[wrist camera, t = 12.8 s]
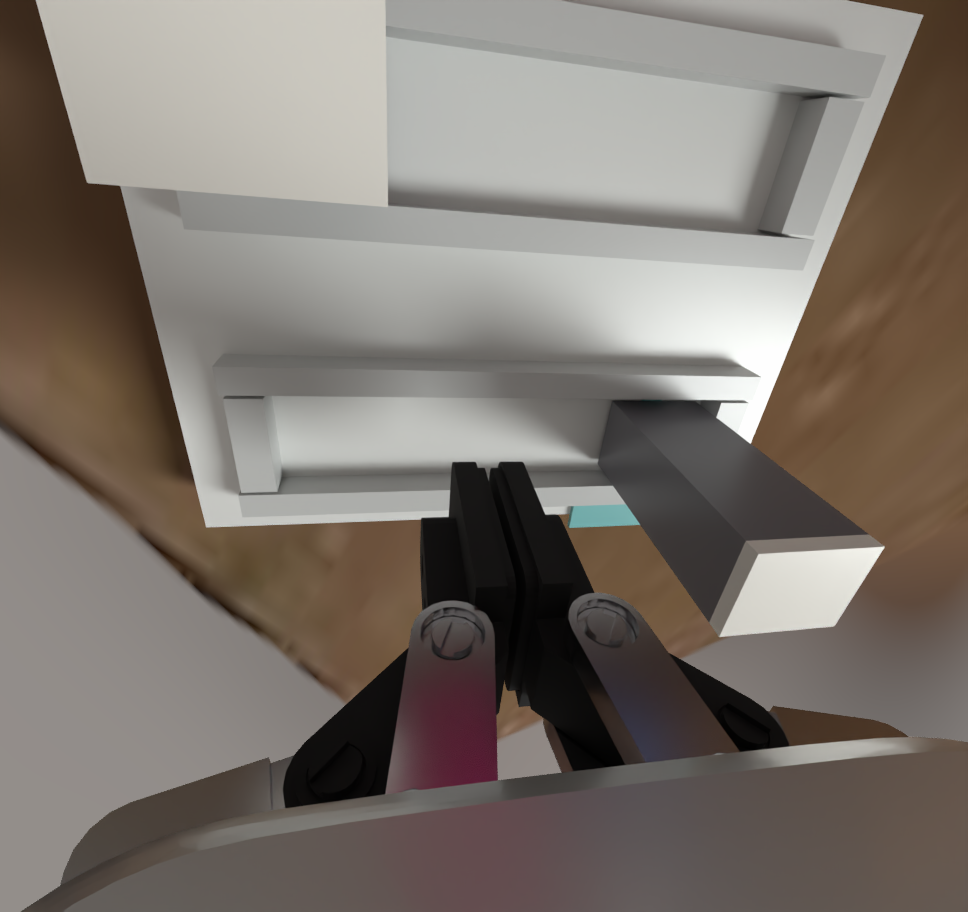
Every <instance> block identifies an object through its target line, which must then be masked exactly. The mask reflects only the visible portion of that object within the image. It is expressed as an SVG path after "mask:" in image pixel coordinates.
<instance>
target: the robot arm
mask: <svg viewBox="0 0 968 912" xmlns="http://www.w3.org/2000/svg"><path fill="white" fill-rule="evenodd" d="M420 567H421V591H422V610H423V611H422V612H421V613H420V614H419V615H418V617H417V618H416V619H415V621H414V624H413V627H412V629H411V636H410V642H409V648H408V649H406V650H405V651H404V652H403V653H402V654H401V655H400V656H399V657H398V658H397V659H396V660H394V661H393V662H392V663H391V664H390V665H389V666H388V667H387V668H386V669H385V670H384V671H382V672H381V673H380V674H379V675H378V676H377V677H376V678H375V679H374V680H373V681H372V682H370V683H369V684H368V685H367V686H366V687H365V688H364V689H363V690H362V691H361V692H360V693H358V694H357V695H356V696H355V697H354V698H353V699H352V700H351V701H350V702H349V703H347V704H346V705H345V706H344V707H343V708H342V709H341V710H340V711H339V712H338V713H337V714H336V715H334V716H333V717H332V718H331V719H330V720H329V721H328V722H327V723H326V724H325V725H324V726H323V727H322V728H320V729H319V730H318V731H317V732H316V733H315V734H314V735H313V736H311V737H310V738H309V739H308V740H307V741H306V742H305V743H304V744H303V745H302V747H301V748H300V749H299V750H298V751H297V752H296V754H295V755H294V756H291V757H289V758H285V759H283V760H279V761H276V762H273V763H270V759H269V758H265V759H262V760H259V761H256V762H253V763H250V764H247V765H244V766H241V767H238V768H235V769H232V770H229V771H225V772H222V773H219V774H216V775H213V776H210V777H207V778H204V779H201V780H198V781H195V782H192V783H189V784H185V785H183V786H179V787H176V788H173V789H170V790H167V791H164V792H161V793H158V794H155V795H152V796H149V797H146V798H143V799H140V800H136V801H133V802H130V803H128V804H126V805H124V806H122V807H120V808H118V809H116V810H114V811H112V812H110V813H109V814H107V815H106V816H105V817H104V818H103V819H101V820H100V821H99V822H98V823H97V824H95V825H94V826H93V827H92V828H90V829H89V831H88V832H87V833H86V834H85V836H84V837H83V838H82V839H81V841H80V842H79V843H78V845H77V846H76V847H75V849H74V850H73V852H72V854H71V856H70V859H69V861H68V863H67V866H66V868H65V870H64V873H63V877H62V881H61V885H60V886H59V887H57V888H56V889H54V890H53V891H52V892H50V893H48V894H47V895H45V896H44V897H42V898H41V899H39V900H37V901H36V902H34V903H33V904H31V905H30V906H28V907H27V908H25V909H24V910H22V911H21V912H968V742H964V741H957V740H951V739H942V738H926V737H908V736H907V735H906V734H904V733H903V732H901V731H899V730H897V729H895V728H894V727H892V726H890V725H888V724H885V723H882V722H879V721H875V720H871V719H863V718H856V717H848V716H841V715H834V714H827V713H820V712H813V711H805V710H798V709H790V708H784V707H776V706H773V707H772V709H771V710H770V712H768V711H766V710H765V709H764V708H763V707H762V706H760V705H759V704H757V703H756V702H755V701H753V700H752V699H750V698H748V697H747V696H745V695H743V694H741V693H739V692H737V691H736V690H734V689H732V688H730V687H728V686H727V685H725V684H723V683H722V682H720V681H718V680H716V679H714V678H713V677H711V676H709V675H707V674H706V673H704V672H702V671H700V670H698V669H696V668H695V667H693V666H691V665H689V664H688V663H686V662H684V661H682V660H681V659H679V658H677V657H675V656H673V655H672V654H670V653H668V651H667V650H666V649H665V647H664V646H663V644H662V643H661V642H660V640H659V639H658V638H657V636H656V635H655V633H654V632H653V631H652V629H651V628H650V626H649V625H648V624H647V622H646V621H645V620H644V618H643V617H642V615H641V614H640V613H639V612H638V611H637V610H636V609H635V608H634V607H633V606H632V605H630V604H629V603H627V602H626V601H624V600H623V599H620V598H618V597H616V596H613V595H609V594H604V593H594V591H593V588H592V586H591V584H590V582H589V580H588V577H587V575H586V573H585V571H584V569H583V566H582V564H581V562H580V560H579V558H578V555H577V553H576V551H575V549H574V547H573V544H572V542H571V540H570V538H569V536H568V533H567V531H566V529H565V527H564V525H563V522H562V520H561V519H560V517H559V516H558V515H556V514H549V515H545V513H544V510H543V508H542V506H541V503H540V501H539V498H538V496H537V494H536V491H535V489H534V486H533V484H532V481H531V479H530V477H529V474H528V472H527V469H526V467H525V465H524V463H523V462H499V464H498V468H491V469H490V474H489V480H488V477H487V473H486V470H485V468H478V467H477V464H476V462H452V468H451V484H450V501H449V517H427V518H421V540H420ZM504 680H505V685H506V688H507V690H508V691H513V690H515V691H516V696H517V701H518V705H519V707H523V706H530V707H531V709H532V710H533V711H535V712H536V713H537V714H539V715H540V716H542V717H543V725H544V729H545V733H546V736H547V738H548V741H549V743H550V745H551V748H552V750H553V753H554V755H555V758H556V760H557V763H558V765H559V767H560V770H561V772H562V773H556V774H547V775H539V776H531V777H522V778H515V779H507V780H498V774H497V773H498V772H497V725H496V715H497V714H498V713H499V709H500V703H501V697H502V691H503V684H504Z"/></svg>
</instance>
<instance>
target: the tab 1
mask: <svg viewBox="0 0 968 912" xmlns="http://www.w3.org/2000/svg"><path fill="white" fill-rule="evenodd" d="M36 3H37V6H38V10H39V14H40V17H41V21H42V24H43V28H44V31H45V35H46V38H47V42H48V46H49V49H50V53H51V56H52V60H53V63H54V67H55V71H56V74H57V78H58V81H59V85H60V88H61V92H62V95H63V99H64V103H65V106H66V110H67V113H68V117H69V120H70V124H71V127H72V131H73V135H74V138H75V142H76V145H77V149H78V152H79V156H80V159H81V163H82V167H83V170H84V174H85V177H86V181H87V183H93V184H105V185H118V186H130V187H142V188H155V189H167V190H180V191H192V192H205V193H217V194H230V195H242V196H255V197H267V198H280V199H292V200H305V201H317V202H330V203H342V204H354V205H367V206H379V207H388V160H387V84H386V8H385V0H36Z"/></svg>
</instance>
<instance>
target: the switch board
mask: <svg viewBox="0 0 968 912" xmlns="http://www.w3.org/2000/svg"><path fill="white" fill-rule="evenodd" d="M385 8H386V84H387V160H388V207H379V206H367V205H354V204H342V203H330V202H317V201H305V200H292V199H280V198H267V197H255V196H242V195H230V194H217V193H205V192H192V191H180V190H167V189H155V188H142V187H130V186H120V187H121V191H122V195H123V199H124V203H125V207H126V211H127V215H128V219H129V223H130V227H131V230H132V234H133V238H134V242H135V246H136V250H137V254H138V258H139V262H140V266H141V270H142V274H143V278H144V282H145V286H146V290H147V294H148V298H149V302H150V306H151V310H152V314H153V318H154V322H155V326H156V330H157V334H158V338H159V342H160V345H161V349H162V353H163V357H164V361H165V365H166V369H167V373H168V377H169V381H170V385H171V389H172V393H173V397H174V401H175V405H176V409H177V413H178V417H179V421H180V425H181V429H182V433H183V437H184V441H185V445H186V449H187V453H188V457H189V461H190V464H191V468H192V472H193V476H194V480H195V484H196V488H197V492H198V496H199V500H200V504H201V508H202V512H203V516H204V520H205V524H206V527H229V526H256V525H283V524H310V523H337V522H364V521H391V520H418V519H421V518H427V517H449V501H450V484H451V468H452V462H476V464H477V467H478V468H485V470H486V473H487V477H488V480H489V474H490V469H491V468H498V464H499V462H523V463H524V465H525V467H526V469H527V472H528V474H529V477H530V479H531V481H532V484H533V486H534V489H535V491H536V494H537V496H538V498H539V501H540V503H541V506H542V508H543V510H544V513H545V515H549V514H570V515H569V520H568V526H569V528H576V527H599V526H622V525H640V524H639V522H638V521H637V519H636V518H635V516H634V515H633V514H632V512H631V511H630V509H629V508H628V506H627V505H626V504H625V502H624V501H623V499H622V498H621V497H620V495H619V494H618V492H617V491H616V489H615V488H614V487H613V485H612V484H611V482H610V481H609V479H608V478H607V477H606V475H605V474H604V472H603V471H602V470H601V468H600V467H599V465H598V459H599V455H600V451H601V446H602V442H603V438H604V433H605V429H606V425H607V421H608V416H609V412H610V408H611V403H612V401H696V402H697V403H698V404H699V405H701V406H702V407H703V408H705V409H706V410H707V411H709V412H710V413H711V414H712V415H714V416H715V417H716V418H718V419H719V420H720V421H722V422H723V423H724V424H725V425H727V426H728V427H729V428H731V429H732V430H733V431H735V432H736V433H737V434H739V435H740V436H741V437H742V438H744V439H745V440H746V441H748V442H749V443H750V444H751V441H752V439H753V436H754V434H755V431H756V429H757V426H758V424H759V421H760V419H761V416H762V414H763V411H764V409H765V406H766V404H767V402H768V399H769V397H770V394H771V392H772V389H773V387H774V384H775V382H776V379H777V377H778V374H779V372H780V369H781V367H782V364H783V362H784V359H785V357H786V354H787V352H788V350H789V347H790V345H791V342H792V340H793V337H794V335H795V332H796V330H797V327H798V325H799V322H800V320H801V317H802V315H803V312H804V310H805V307H806V305H807V302H808V300H809V298H810V295H811V293H812V290H813V288H814V285H815V283H816V280H817V278H818V275H819V273H820V270H821V268H822V265H823V263H824V260H825V258H826V255H827V253H828V251H829V248H830V246H831V243H832V241H833V238H834V236H835V233H836V231H837V228H838V226H839V223H840V221H841V218H842V216H843V213H844V211H845V208H846V206H847V203H848V201H849V199H850V196H851V194H852V191H853V189H854V186H855V184H856V181H857V179H858V176H859V174H860V171H861V169H862V166H863V164H864V161H865V159H866V156H867V154H868V151H869V149H870V147H871V144H872V142H873V139H874V137H875V134H876V132H877V129H878V127H879V124H880V122H881V119H882V117H883V114H884V112H885V109H886V107H887V104H888V102H889V99H890V97H891V95H892V92H893V90H894V87H895V85H896V82H897V80H898V77H899V75H900V72H901V70H902V67H903V65H904V62H905V60H906V57H907V55H908V52H909V50H910V47H911V45H912V43H913V40H914V38H915V35H916V33H917V30H918V28H919V25H920V23H921V20H922V18H923V15H921V14H916V13H910V12H905V11H900V10H895V9H889V8H884V7H879V6H874V5H868V4H863V3H858V2H853V1H847V0H385Z"/></svg>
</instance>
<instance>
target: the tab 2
mask: <svg viewBox="0 0 968 912" xmlns="http://www.w3.org/2000/svg"><path fill="white" fill-rule="evenodd" d="M598 465H599V467H600V468H601V470H602V471H603V472H604V474H605V475H606V477H607V478H608V479H609V481H610V482H611V484H612V485H613V487H614V488H615V489H616V491H617V492H618V494H619V495H620V497H621V498H622V499H623V501H624V502H625V504H626V505H627V506H628V508H629V509H630V511H631V512H632V514H633V515H634V516H635V518H636V519H637V521H638V522H639V524H640V525H641V526H642V528H643V529H644V531H645V532H646V534H647V535H648V536H649V538H650V539H651V541H652V542H653V543H654V545H655V546H656V548H657V549H658V551H659V552H660V553H661V555H662V556H663V558H664V559H665V561H666V562H667V563H668V565H669V566H670V568H671V569H672V570H673V572H674V573H675V575H676V576H677V578H678V579H679V580H680V582H681V583H682V585H683V586H684V588H685V589H686V590H687V592H688V593H689V595H690V596H691V597H692V599H693V600H694V602H695V603H696V605H697V606H698V607H699V609H700V610H701V612H702V613H703V615H704V616H705V617H706V619H707V620H708V622H709V623H710V624H711V626H712V627H713V629H714V630H715V632H716V633H717V634H718V636H719V637H723V636H734V635H744V634H756V633H767V632H777V631H788V630H799V629H810V628H821V627H832V626H835V624H836V623H837V621H838V620H839V618H840V616H841V615H842V613H843V611H844V610H845V608H846V607H847V605H848V604H849V602H850V601H851V599H852V597H853V596H854V594H855V593H856V591H857V590H858V588H859V587H860V585H861V583H862V582H863V580H864V578H865V577H866V576H867V574H868V572H869V571H870V569H871V568H872V566H873V565H874V563H875V561H876V560H877V558H878V557H879V555H880V554H881V552H882V550H883V549H884V546H883V545H882V544H881V543H879V542H878V541H877V540H875V539H874V538H873V537H871V536H870V535H869V534H868V533H866V532H865V531H864V530H862V529H861V528H860V527H858V526H857V525H856V524H855V523H853V522H852V521H851V520H849V519H848V518H847V517H845V516H844V515H843V514H841V513H840V512H839V511H838V510H836V509H835V508H834V507H832V506H831V505H830V504H828V503H827V502H826V501H825V500H823V499H822V498H821V497H819V496H818V495H817V494H815V493H814V492H813V491H811V490H810V489H809V488H808V487H806V486H805V485H804V484H802V483H801V482H800V481H798V480H797V479H796V478H795V477H793V476H792V475H791V474H789V473H788V472H787V471H785V470H784V469H783V468H782V467H780V466H779V465H778V464H776V463H775V462H774V461H772V460H771V459H770V458H768V457H767V456H766V455H765V454H763V453H762V452H761V451H759V450H758V449H757V448H755V447H754V446H753V445H752V444H750V443H749V442H748V441H746V440H745V439H744V438H742V437H741V436H740V435H739V434H737V433H736V432H735V431H733V430H732V429H731V428H729V427H728V426H727V425H725V424H724V423H723V422H722V421H720V420H719V419H718V418H716V417H715V416H714V415H712V414H711V413H710V412H709V411H707V410H706V409H705V408H703V407H702V406H701V405H699V404H698V403H697V402H696V401H612V403H611V408H610V412H609V416H608V421H607V425H606V429H605V433H604V438H603V442H602V446H601V451H600V455H599V459H598Z"/></svg>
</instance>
